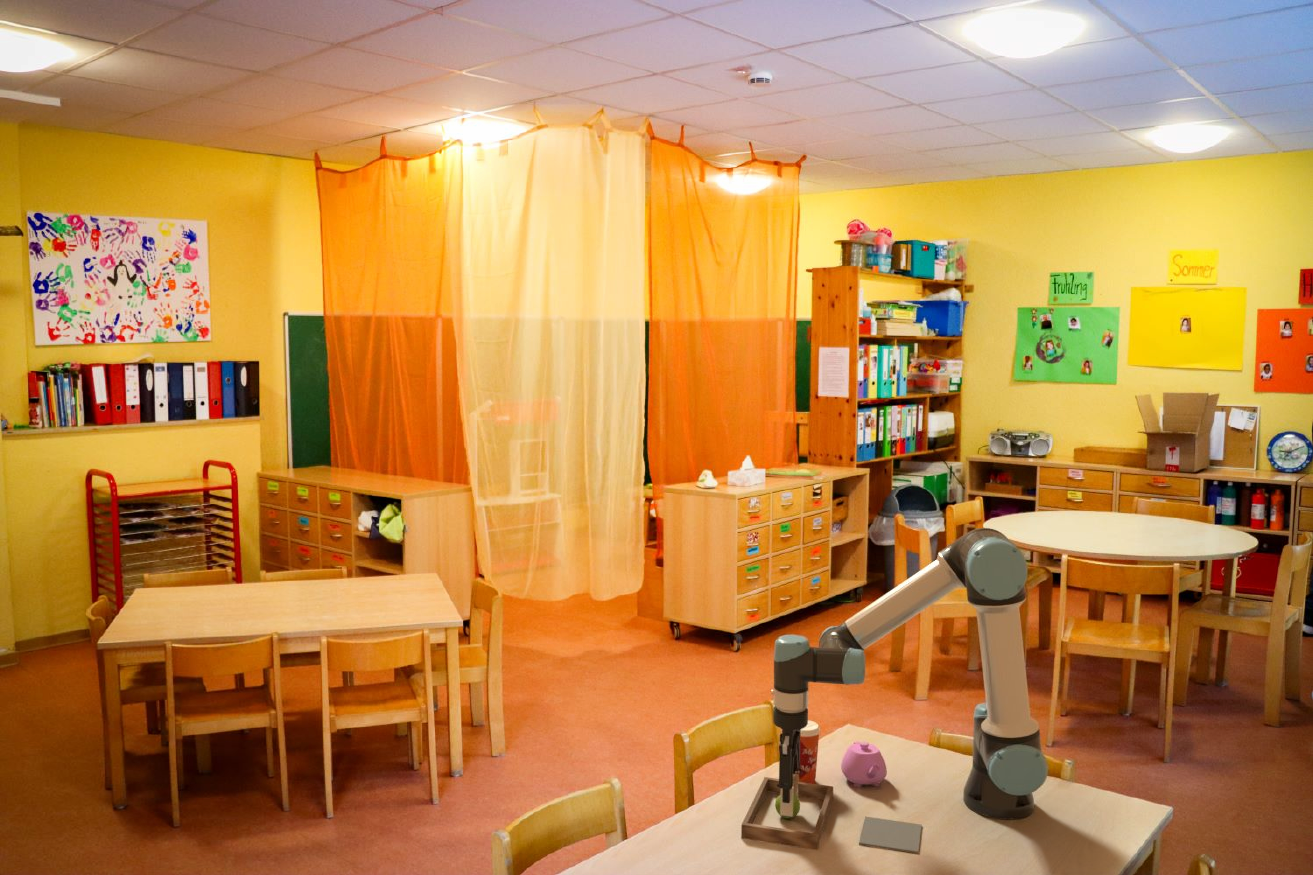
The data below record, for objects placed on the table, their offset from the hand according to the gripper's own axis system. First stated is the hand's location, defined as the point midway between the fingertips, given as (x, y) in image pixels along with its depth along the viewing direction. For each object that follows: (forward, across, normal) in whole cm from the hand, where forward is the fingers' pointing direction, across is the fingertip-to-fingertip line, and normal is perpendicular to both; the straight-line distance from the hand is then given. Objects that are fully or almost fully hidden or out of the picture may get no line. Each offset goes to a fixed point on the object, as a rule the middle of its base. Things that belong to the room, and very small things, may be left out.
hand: (789, 808), depth 220 cm
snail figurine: (+2, 0, 0) cm, 2 cm away
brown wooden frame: (+2, 0, 0) cm, 2 cm away
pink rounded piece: (+2, -23, +14) cm, 27 cm away
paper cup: (+2, -19, 0) cm, 19 cm away
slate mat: (+2, +1, +22) cm, 22 cm away
